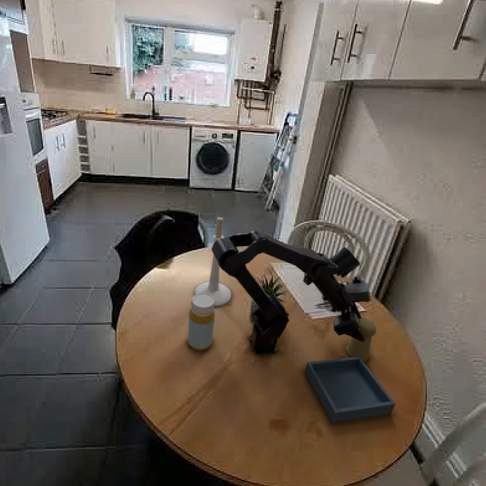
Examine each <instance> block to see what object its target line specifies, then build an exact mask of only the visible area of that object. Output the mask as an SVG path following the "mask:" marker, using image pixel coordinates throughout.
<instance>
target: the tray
mask: <svg viewBox="0 0 486 486" xmlns="http://www.w3.org/2000/svg"><path fill="white" fill-rule="evenodd" d="M304 373H305V375H306V377H307V380H308V381H309V384H311V386H312V388H313V390H314V392H315V394H316V396H317V398H318V399H319V401H320V403H321V405H322V407H323V409H324V411H325V413H326V414H327V416H328V419H329V420H330V422H331V424H335V423H341V422H348V421H355V420H360V419H369V418H373V417H381V416H386V415H391V414H393V411H394V409H395V406H396V402H395V401H394V399H393V398H392V397H391V396H390V394H389V393H388V392H387V390H386V389H385V388H384V387H383V385H382V384H381V382H380V381H379V380H378V378H377V377H376V376H375V374H373V372H372V371H371V369H370V368H369V367H368V365H367V364H366V363H365V361H363V360H362V359H361V358H360V357H351V356H350V357H342V358H334V359H325V360H317V361H307V362H306V365H305V369H304Z"/></svg>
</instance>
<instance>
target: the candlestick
mask: <svg viewBox="0 0 486 486" xmlns="http://www.w3.org/2000/svg"><path fill="white" fill-rule="evenodd" d="M223 227H224V217H222V216H218V217H216V228H215V234H214V235H213V236H212V238H213V241H214V243H215V242H216V241H217V240H218V239H220V238H225V236H224V235H223ZM212 254H213V253H212ZM211 261H212V262H211V268H210V275H209V281H207V282H203V283H201V284H199V285H198V286H196V288H195V290H194V295H195V294H198V293H207V294H210V295H211V296H213V298H214V307H222V306H224V305H226V304H228V303H229V302H230V300H231V299H232V292H231V290H230V288H228V286H226V285H225V284H222V283H221V282H220V269H221V268H220V266H219V264H218V262H217V260H216V258H215V256H214V254H213V255H212V260H211Z"/></svg>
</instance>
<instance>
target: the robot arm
mask: <svg viewBox="0 0 486 486" xmlns="http://www.w3.org/2000/svg"><path fill="white" fill-rule="evenodd" d="M211 247H212V248H211V252H212V254H214V256H215V258H216V260H217V262H218V264H219V266H220V269H221V270H222V271H223V272H225V274H227V275H228V276H229V277H232V278H234V279H236V281H237V282H238V283H239V285H240V286H241V287H242V288H243V289H244V290H245V292H246V293H247V294H248V296H250V298H251V299H252V301H253V302H254V303H255V305H257V308H256V309H255V310H254V311H252V313H251V317H252V321H254V323H255V324H253V325H252V332H251V335H249V336H248V340H249V342H250V344H251V347H252V350H253V352H254V354H255V355H263V354H272V353H277V352H278V349H277V347H276V346H277V345H278V344H277V343H278V341H279V340H278V339H280V338H281V336H282V335H283V333H284V331H285V330H286V328H287V326H288V324H289V322H290V318H289V316H290V313H289V311H287V309H286V308H285V307H284V305H283V303H282V302H281V300H280V299H278V296H276V293H274V292H272V293H271V295H269V294H268V293H267V292H266V291H265V289H264V288H263V287H262V286H261V285H260V283H259V282H258V281H257V279H256V278H255V277H254V275H253V274H252V273H251V271H250V270H249V269H248V267H247V264H250V263H251V262H252V261H253V260H254V259H255V258H256V257H257V256H259V255H261V254H265V255H267V256H270V257H272V258H274V259H277V260H279V261H283V262H285V263H287V264H290V265H292V266H294V267H296V268H298V269H299V270H300V271H301V272H302V273H304V274H303V275H304V276H303V279H302V282H303V283H304V284H305V285H306V286H311V284H313V285H314V286H315V287H316V289H317V290H318V292H320V294H321V299H322V301H323V302H327V303H328V304H329V305H330V311H331V312H332V313H335V312H338V313H339V312H340V315H337V316H334V317H333V321H332V323H333V325H332V327H333V331H334V332H335V333H336V335H337V336H342V335H346V336H348V337H350V338H352V337H353V338H355V339H357V340H359V341H361V342H363V341H365V338H364V336H363V334H362V332H361V331H360V329H359V327H360V320H359V319H362V315H361V313H360V311H359V307H358V306H357V304H356V303H369V302H371V300H372V298H371V293H370V291H369V286H368V283H367V282H366V280H363V279H362V278H361V277H360V276H359V275H355V276H352V278H351V281H345V282H343V281H341V280H338V279H337V278H336V277H340V278H341V279H344V278H345V277H347V276H348V275H349V274H351V273H352V272H353V271H354V270H356V269H357V268H358V267H360V266H361V262H360V260H359V259H357V258H356V256H355V255H354V254H353V253H352V252H351V250H350V249H349V248H347V247H346V246H343V247H341V249H340V250H339V251H338V252H336V253H335V254H334V255H332V256H331V257H330V258H329V257H328V256H327V255H326V254H324V253H321V252H317V251H316V250H314V249H312V248H306V247H300V248H299V247H295V246H293V245H291V244H288V243H286V242H283V241H281V240H278V239H276V238H275V237H272V236H270V235H267V234H265V233H263V232H262V231H261V230H252V231H249V232H246V233H236V234H235V233H234V234H231V235H229V236H227V237H224V238H220V239H218V240H217V241H216V242H214V243H213V244H212V246H211ZM240 247H241V248H243V247H246V248H245V249H244V250H241V251H240V250H239V249H238V248H240ZM334 275H335V276H336V277H335V276H334Z"/></svg>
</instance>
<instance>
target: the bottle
mask: <svg viewBox="0 0 486 486" xmlns="http://www.w3.org/2000/svg"><path fill="white" fill-rule="evenodd" d="M214 309H215V306H214V298H213V296H211V295H210V294H207V293H198V294H195V293H194V295H193V296H192V297H191V304H190V310H189V313H188V314H189V315H188V328H187V331H188V332H187V343H188V345H189V347H191V348H192V349H193V350H196V351H205V350H207V349H209V348H210V347H211V346H212V344H213V337H214V327H215V325H214V324H215V317H216V314H215V310H214Z"/></svg>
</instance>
